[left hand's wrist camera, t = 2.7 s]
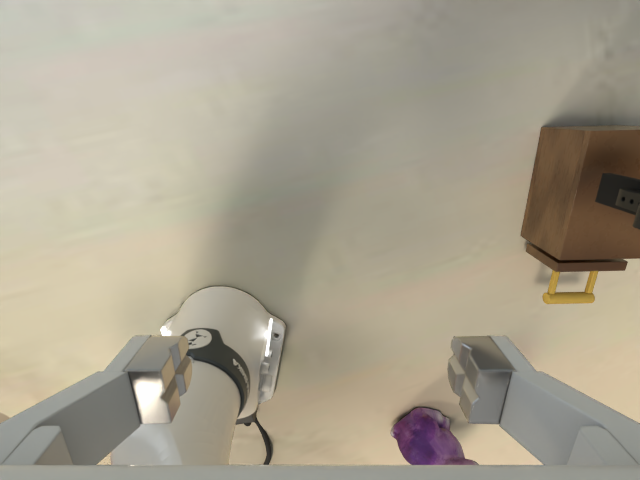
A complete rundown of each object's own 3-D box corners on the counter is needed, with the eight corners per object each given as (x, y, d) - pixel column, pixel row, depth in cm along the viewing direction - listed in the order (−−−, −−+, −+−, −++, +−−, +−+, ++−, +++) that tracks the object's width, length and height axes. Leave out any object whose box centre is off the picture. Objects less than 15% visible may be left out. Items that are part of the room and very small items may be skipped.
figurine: (464, 422, 60) (508, 517, 46) (418, 451, 63) (446, 549, 48) (431, 391, 58) (467, 482, 44) (385, 423, 60) (404, 518, 46)
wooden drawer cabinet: (589, 234, 48) (641, 258, 40) (520, 235, 48) (559, 260, 40) (618, 125, 43) (685, 128, 35) (541, 127, 43) (590, 130, 35)
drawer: (576, 286, 50) (612, 311, 44) (518, 287, 50) (545, 312, 44) (612, 151, 43) (661, 158, 37) (545, 153, 43) (583, 160, 37)
